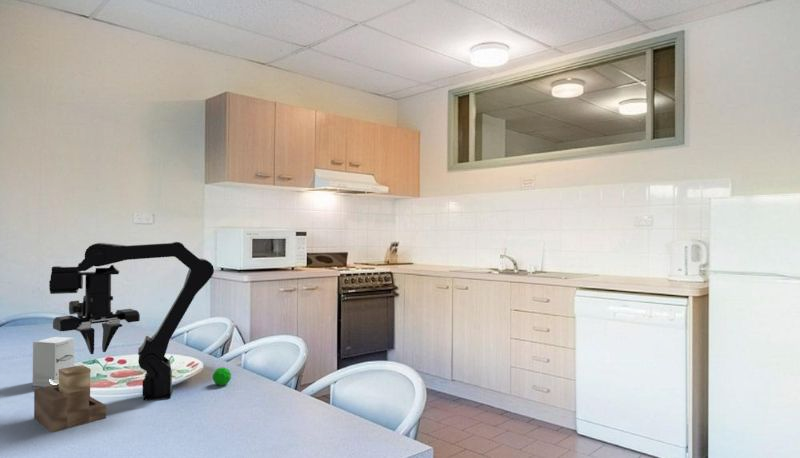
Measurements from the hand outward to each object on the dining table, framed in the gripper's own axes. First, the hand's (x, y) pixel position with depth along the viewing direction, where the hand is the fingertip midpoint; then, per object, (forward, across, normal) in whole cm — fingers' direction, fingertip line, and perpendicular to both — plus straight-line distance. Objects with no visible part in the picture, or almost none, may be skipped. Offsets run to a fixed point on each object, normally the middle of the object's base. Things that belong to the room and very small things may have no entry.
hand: (98, 352), depth 135 cm
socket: (+13, +7, +6) cm, 16 cm away
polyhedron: (+13, -30, +10) cm, 34 cm away
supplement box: (+13, +1, -27) cm, 30 cm away
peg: (+8, +7, +6) cm, 13 cm away
